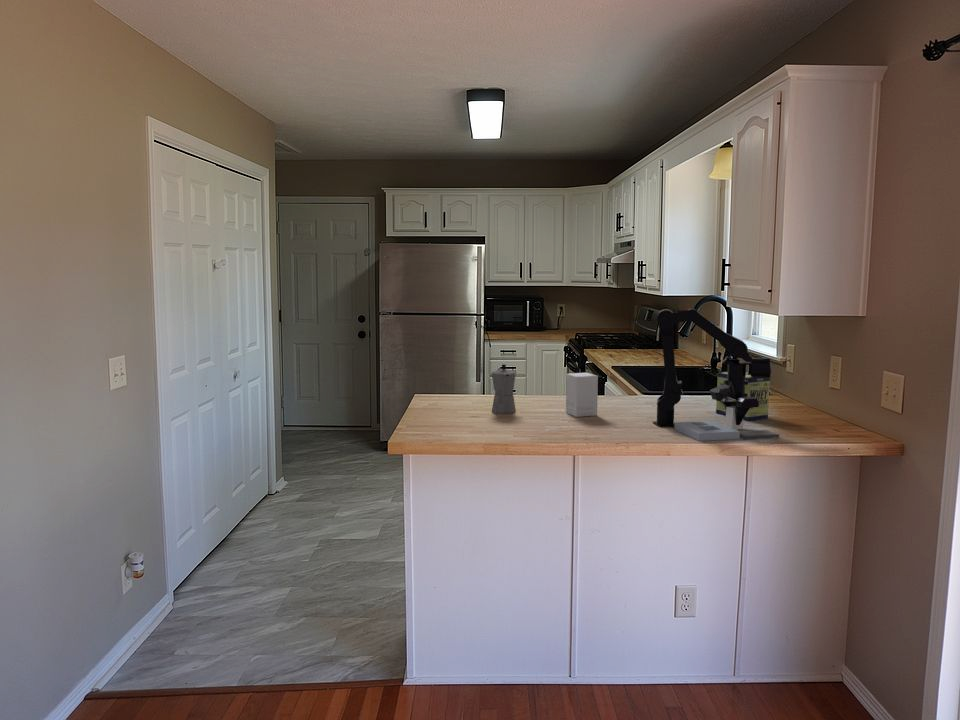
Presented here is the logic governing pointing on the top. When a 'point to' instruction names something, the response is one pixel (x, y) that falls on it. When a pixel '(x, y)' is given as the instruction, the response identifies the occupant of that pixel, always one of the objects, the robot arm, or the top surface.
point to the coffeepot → (503, 391)
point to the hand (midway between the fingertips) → (734, 423)
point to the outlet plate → (707, 430)
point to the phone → (757, 434)
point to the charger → (732, 419)
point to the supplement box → (581, 394)
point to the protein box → (753, 389)
